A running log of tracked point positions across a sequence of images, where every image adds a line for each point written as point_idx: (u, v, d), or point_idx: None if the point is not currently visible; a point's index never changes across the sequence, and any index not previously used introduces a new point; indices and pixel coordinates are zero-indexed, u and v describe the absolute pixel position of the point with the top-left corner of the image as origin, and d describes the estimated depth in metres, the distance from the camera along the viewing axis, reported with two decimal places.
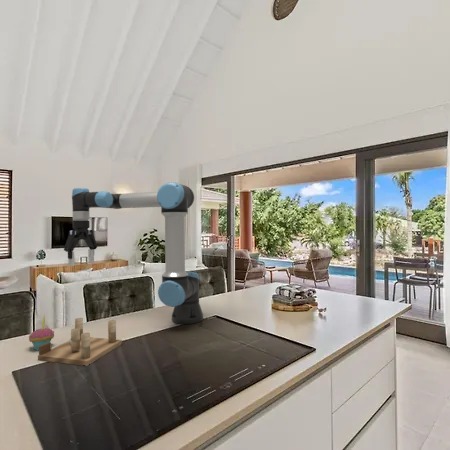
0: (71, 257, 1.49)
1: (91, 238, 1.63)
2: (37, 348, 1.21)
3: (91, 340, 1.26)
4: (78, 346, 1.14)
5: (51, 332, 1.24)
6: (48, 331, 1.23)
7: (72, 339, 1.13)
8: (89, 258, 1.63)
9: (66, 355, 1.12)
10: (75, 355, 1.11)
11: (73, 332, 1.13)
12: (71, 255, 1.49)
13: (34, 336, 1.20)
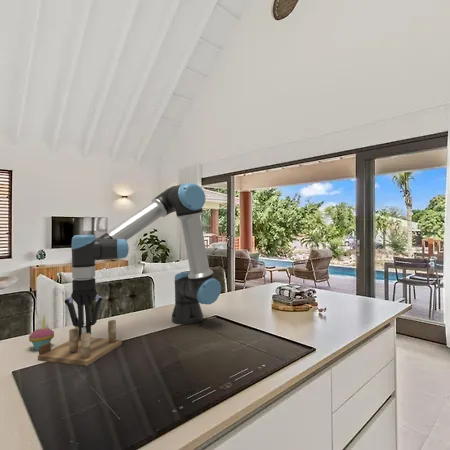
0: (80, 334, 1.13)
1: (95, 308, 1.15)
2: (37, 348, 1.21)
3: (91, 340, 1.26)
4: (76, 346, 1.14)
5: (51, 332, 1.24)
6: (48, 331, 1.23)
7: (70, 339, 1.13)
8: None
9: (66, 355, 1.12)
10: (75, 355, 1.11)
11: (71, 332, 1.13)
12: (80, 332, 1.13)
13: (34, 336, 1.20)
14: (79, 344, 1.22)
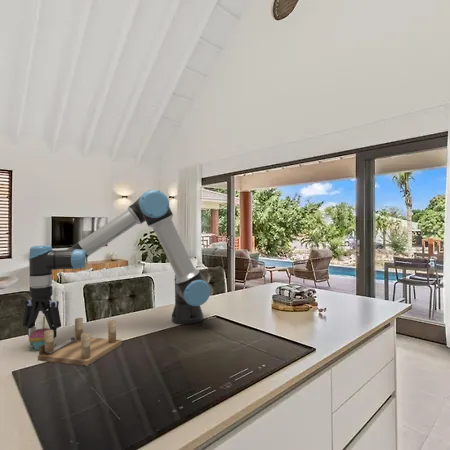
0: (28, 334, 1.24)
1: None
2: (37, 348, 1.21)
3: (91, 340, 1.26)
4: (48, 348, 1.12)
5: None
6: None
7: None
8: None
9: (66, 355, 1.12)
10: (75, 355, 1.11)
11: (44, 333, 1.13)
12: (29, 332, 1.24)
13: (34, 336, 1.20)
14: (79, 344, 1.22)
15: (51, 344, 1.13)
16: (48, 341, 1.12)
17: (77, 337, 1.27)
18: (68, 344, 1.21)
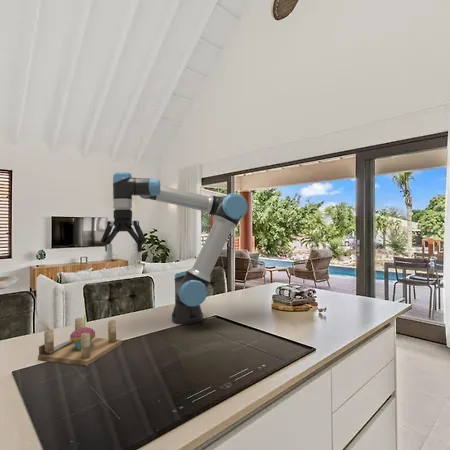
0: (106, 250, 1.38)
1: None
2: (79, 348, 1.16)
3: None
4: (48, 348, 1.12)
5: (92, 331, 1.19)
6: (89, 330, 1.18)
7: None
8: None
9: (66, 355, 1.12)
10: (75, 355, 1.11)
11: (44, 333, 1.13)
12: (106, 248, 1.38)
13: (76, 335, 1.15)
14: None
15: (51, 344, 1.13)
16: (48, 341, 1.12)
17: None
18: (68, 344, 1.21)
